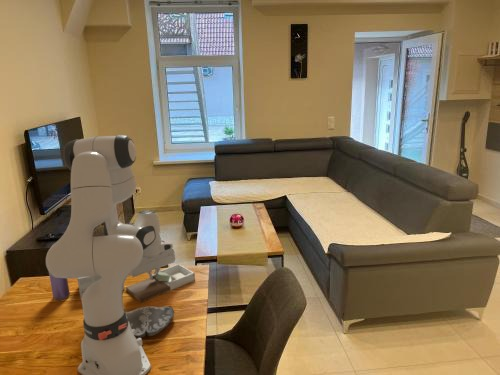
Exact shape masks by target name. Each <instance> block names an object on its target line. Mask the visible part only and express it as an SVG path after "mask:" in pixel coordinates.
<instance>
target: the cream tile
mask: <svg viewBox="0 0 500 375" xmlns="http://www.w3.org/2000/svg"><path fill="white" fill-rule="evenodd" d="M183 276H185V275H183V274H182V273H178V274H175V275H173V276H171V281H173V280H176V279H178V278H181V277H183Z"/></svg>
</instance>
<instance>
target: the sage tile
mask: <svg viewBox="0 0 500 375" xmlns="http://www.w3.org/2000/svg"><path fill="white" fill-rule="evenodd" d="M169 278H170V275H168V274H166V273H165V272H159V273H158V278H156V279H157V280H159V281H169Z"/></svg>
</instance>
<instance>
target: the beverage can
mask: <svg viewBox="0 0 500 375" xmlns="http://www.w3.org/2000/svg"><path fill="white" fill-rule="evenodd" d="M48 276H49V281H50V286H51V291H52V292H51V293H52V297H53V299H54V300H56V301H62V300H65V299H67V298H69V297H70V287H69V280H68V278H55V277H54V276H52V275H51V274H50V272H49V271H48Z"/></svg>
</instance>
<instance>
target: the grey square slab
mask: <svg viewBox="0 0 500 375" xmlns="http://www.w3.org/2000/svg"><path fill="white" fill-rule="evenodd" d="M125 289H126V291H127V292H128V293H129V294H130V295H131V296H132V297H134V299H136V300H137V301H139V303H143V302H146V301H148V300H151V299H153V298H156V297H158V296H160V295H161V296H162V294H165V293H168V292H170V291H171V290H170V286H168V285H167V284H165V283H164V282H162V281H159V280H157V279H153V280H151V279H150V277H149V278H146V279H144V280H141V281H139V282H135V283H133V284H130V285H128V286H125Z"/></svg>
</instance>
